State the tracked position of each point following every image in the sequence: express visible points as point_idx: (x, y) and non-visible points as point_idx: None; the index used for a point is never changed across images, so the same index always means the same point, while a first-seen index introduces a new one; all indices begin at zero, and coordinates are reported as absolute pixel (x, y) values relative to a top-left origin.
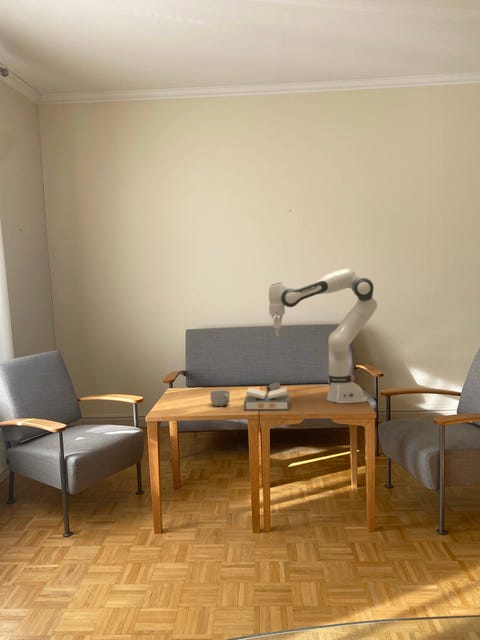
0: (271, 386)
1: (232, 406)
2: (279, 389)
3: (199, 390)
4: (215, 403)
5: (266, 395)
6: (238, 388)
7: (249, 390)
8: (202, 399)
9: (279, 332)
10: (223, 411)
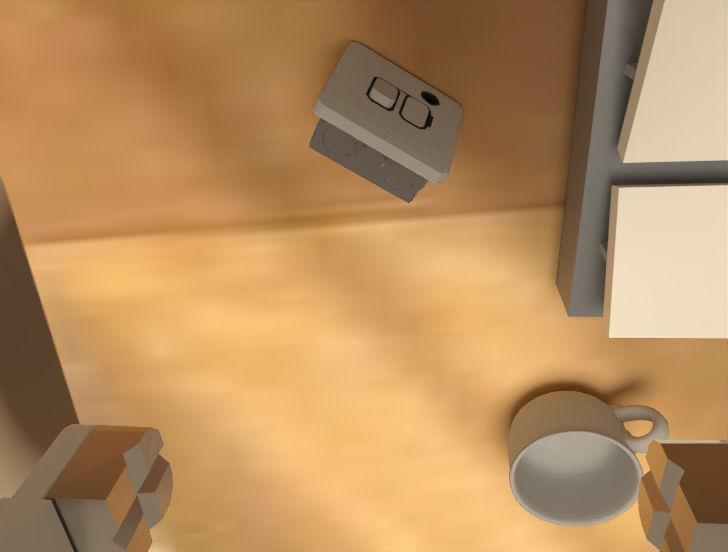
0: (438, 158)
1: (603, 357)
2: (685, 66)
3: (201, 535)
4: (613, 451)
5: (595, 174)
6: (108, 368)
7: (722, 322)
8: (411, 505)
9: (106, 473)
10: (724, 390)
